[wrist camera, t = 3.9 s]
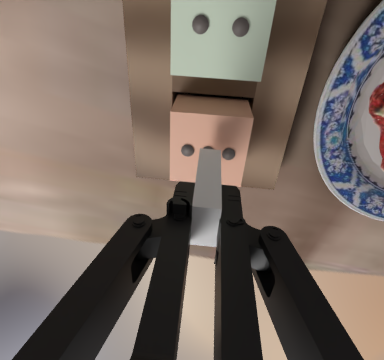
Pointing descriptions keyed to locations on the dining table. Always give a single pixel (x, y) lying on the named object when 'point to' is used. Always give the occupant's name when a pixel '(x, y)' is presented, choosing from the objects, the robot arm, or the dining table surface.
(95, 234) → the dining table surface
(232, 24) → the tile two
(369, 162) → the ceramic plate
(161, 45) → the button board
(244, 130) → the tile three
